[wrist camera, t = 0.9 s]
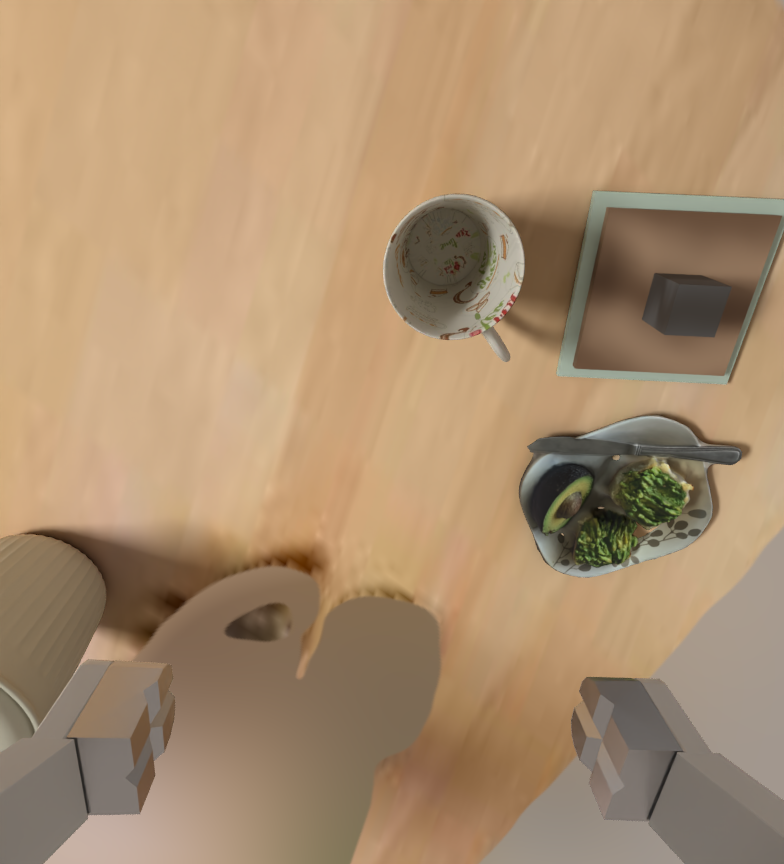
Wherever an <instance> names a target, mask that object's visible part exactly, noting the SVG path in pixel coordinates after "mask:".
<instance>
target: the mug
mask: <svg viewBox="0 0 784 864" xmlns="http://www.w3.org/2000/svg"><path fill="white" fill-rule="evenodd" d="M524 271H525V256H524V249H523V244H522V241H521V238H520V236H519V233H518V231H517V229H516V227H515V226H514V224H513V223H512V221H511V220H510V219H509V217H508V216H507V215H506V214H505V213H504V212H503V211H502V210H501V209H499V208H498V207H497V206H495V205H494V204H492V203H491V202H489V201H487V200H485V199H482V198H480V197H477V196H473V195H468V194H446V195H441V196H438V197H434V198H432V199H429V200H427V201H425V202H423V203H421V204H420V205H418V206H417V207H415V208H414V209H413V210H411V211H410V212H409V213H408V214H407V215H406V216H405V217H404V218H403V219H402V220H401V221H400V223H399V224H398V225H397V227H396V228H395V230H394V232H393V233H392V236H391V238H390V240H389V242H388V245H387V248H386V252H385V256H384V264H383V277H384V284H385V289H386V292H387V295H388V298H389V300H390V302H391V304H392V306H393V308H394V309H395V311H396V312H397V314H398V315H399V316H400V317H401V318H402V319H403V320H404V321H405V322H406V323H407V324H408V325H409V326H410V327H412V328H413V329H415V330H416V331H418V332H420V333H422V334H424V335H426V336H429V337H432V338H437V339H443V340H459V339H465V338H469V337H472V336H475V335H478V334H480V333H482V334H483V336H484V337H485V339H486V340H487V342H488V343H489V345H490V346H491V348H492V349H493V350H494V352H495V353H496V354H497V356H498V357H499V358H500V359H501V360H502V361H504V362H508V361H509V360H510V354H509V352H508V350H507V348H506V346H505V344H504V342H503V341H502V339H501V338H500V336H499V335H498V333H497V332H496V330H495V329H494V327H493V326H494V325H495V324H496V323H497V322H499V321H500V320H501V319H502V318H503V317H504V316H505V315H506V313H507V312H508V311H509V310H510V308H511V307H512V305H513V304H514V302H515V300H516V298H517V296H518V294H519V292H520V289H521V286H522V282H523V278H524Z"/></svg>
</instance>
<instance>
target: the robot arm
mask: <svg viewBox="0 0 784 864" xmlns="http://www.w3.org/2000/svg"><path fill="white" fill-rule="evenodd" d="M172 680H173V674H172V665H170V664H166V663H148V662H132V661H107V660H90V659H88V660H86V661H85V662H84V663H83V664H81V665H80V666H79V667H78V669H77V670H76V672H75V673H74V675H73V676H72V678H71V679H70V681H69V682H68V684H67V685H66V687H65V688H64V690H63V691H62V693H61V694H60V696H59V697H58V699H57V700H56V702H55V703H54V705H53V706H52V708H51V709H50V711H49V712H48V714H47V715H46V717H45V718H44V720H43V721H42V723H41V724H40V726H39V727H38V729H37V730H36V732H35V733H34V735H33V736H32V738H21V739H20V740H18V741H17V742H15V743H14V744H13V745H11V746H10V747H8V748H7V749H5V750H4V751H2V752H1V753H0V864H43V863H45V861H47V860H48V858H49V857H50V856H51V855H52V854H53V853H54V852H55V851H56V850H57V849H58V848H59V847H60V846H61V845H62V844H63V843H64V842H65V841H66V840H67V839H68V838H69V837H70V836H71V835H72V834H73V833H74V832H75V831H76V830H77V829H78V828H79V827H80V826H81V825H82V824H83V823H84V822H85V821H86V820H87V819H88V815H120V814H140V812H141V810H142V807H143V805H144V802H145V800H146V797H147V795H148V792H149V790H150V787H151V784H152V782H153V780H154V777H155V770H154V760H155V759H157V758H158V757H159V756H160V755H161V754H162V753H164V751H165V749H166V746H167V743H168V741H169V738H170V735H171V730H172V726H173V722H174V715H175V696H174V695H173V694H172V693H171V692H170V691H169V687H170V685H171V683H172ZM579 692H580V694H581V696H582V698H583V701H582V702H581V703H579V704H578V705H577V706H576V707H575V708H574V711H573V715H572V719H571V728H572V738H573V743H574V747H575V750H576V752H577V755H578V757H579V760H580V761H581V762H582V763H583V764H584V765H585V766H586V767H587V768H589V769H590V770H591V771H592V774H591V777H590V781H589V784H590V787H591V789H592V792H593V794H594V797H595V799H596V802H597V804H598V806H599V809H600V811H601V813H602V816H603V818H604V820H627V821H649V823H648V824H649V826H650V827H651V828H652V829H653V830H654V831H655V832H656V833H657V834H658V835H659V836H660V838H661V839H662V840H663V841H664V842H665V843H666V844H667V845H668V846H669V847H670V848H671V849H672V851H673V852H674V853H675V854H676V855H677V856H678V857H679V858H680V859H681V860H682V861H683V862H684V864H784V800H782V799H781V798H780V797H778V796H777V795H775V794H774V793H773V792H771V791H770V790H769V789H767V788H766V787H765V786H763V785H762V784H760V783H759V782H758V781H756V780H755V779H753V778H752V777H751V776H750V775H748V774H747V773H746V772H744V771H743V770H741V769H740V768H739V767H738V766H736V765H734V764H733V763H732V762H731V761H729V760H728V759H727V758H725V757H724V756H722V755H721V754H719V753H712V752H711V751H710V749H709V748H708V746H707V745H706V743H705V742H704V740H703V739H702V737H701V736H700V734H699V733H698V731H697V730H696V728H695V727H694V725H693V724H692V722H691V721H690V720H689V718H688V716H687V715H686V713H685V712H684V710H683V709H682V708H681V706H680V705H679V703H678V702H677V700H676V699H675V697H674V696H673V694H672V693H671V691H670V690H669V688H668V687H667V685H666V684H665V683H664V682H663V681H661V680H660V679H646V678H634V679H633V678H607V677H586V678H585V679H584V680H583V681H582V684H581V687H580V690H579Z"/></svg>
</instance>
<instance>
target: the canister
mask: <svg viewBox="0 0 784 864" xmlns="http://www.w3.org/2000/svg"><path fill="white" fill-rule="evenodd" d="M105 605H106V587H105V582H104V580H103V579H102V574H101V573H100V572H99V571H98V568H97V566H95V565H94V564H93V563H92V560H90V559H88V558H87V557H86V555H85V554H83V553H81V552H80V551H79V550H78V549H76V548H74V547H72V546H71V545H70V544H66V543H64V542H63V541H61V540H56V539H54V538H53V537H46V536H44V535H35V534H27V535H26V534H18V535H12V536H7V537H4V538H2V539H0V753H1V752H2V751H4V750H5V749H7V748H8V747H10V746H11V745H13V744H14V743H15V742H17V741H18V740H20V739H21V738H32V736H33V735H34V733H35V732H36V730H37V729H38V727H39V726H40V724H41V723H42V721H43V720H44V718H45V717H46V715H47V714H48V712H49V711H50V709H51V708H52V706H53V705H54V703H55V702H56V700H57V699H58V697H59V696H60V694H61V693H62V691H63V690H64V688H65V687H66V685H67V684H68V682H69V681H70V679H71V678H72V676H73V674H74V673H75V671H76V669H77V667H78V665H79V663H80V661H81V659H82V657H83V655H84V653H85V651H86V649H87V647H88V645H89V643H90V641H91V639H92V637H93V635H94V633H95V631H96V629H97V627H98V624H99V622H100V620H101V618H102V615H103V613H104V608H105Z"/></svg>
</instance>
